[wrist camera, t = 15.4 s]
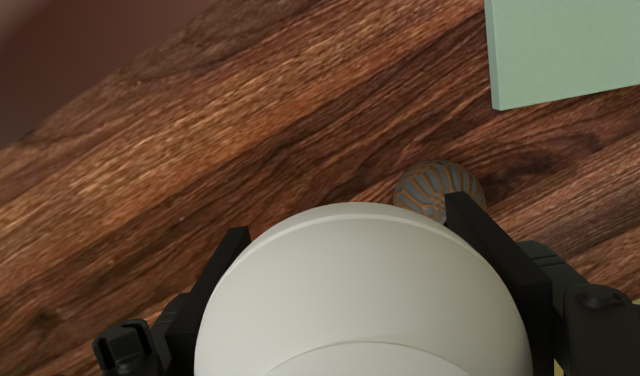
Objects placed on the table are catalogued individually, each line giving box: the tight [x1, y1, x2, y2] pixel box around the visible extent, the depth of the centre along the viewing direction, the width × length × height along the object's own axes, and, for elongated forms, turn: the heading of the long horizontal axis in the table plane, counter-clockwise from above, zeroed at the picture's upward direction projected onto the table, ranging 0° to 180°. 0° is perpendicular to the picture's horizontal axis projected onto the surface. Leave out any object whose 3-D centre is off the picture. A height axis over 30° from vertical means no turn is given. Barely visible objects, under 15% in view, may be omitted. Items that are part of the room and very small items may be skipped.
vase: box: [393, 159, 486, 228], centre depth 32 cm, size 7×7×9 cm
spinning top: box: [194, 202, 533, 376], centre depth 11 cm, size 8×8×12 cm
